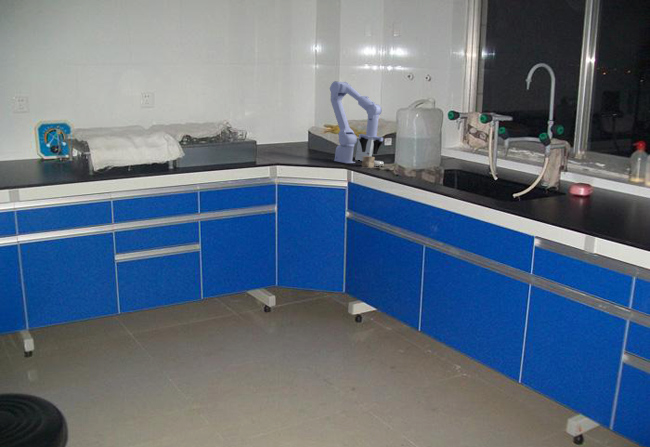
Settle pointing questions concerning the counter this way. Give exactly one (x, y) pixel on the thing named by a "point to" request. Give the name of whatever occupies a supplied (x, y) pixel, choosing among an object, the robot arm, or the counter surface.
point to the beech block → (368, 161)
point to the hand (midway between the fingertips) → (369, 153)
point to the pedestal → (377, 163)
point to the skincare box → (367, 153)
